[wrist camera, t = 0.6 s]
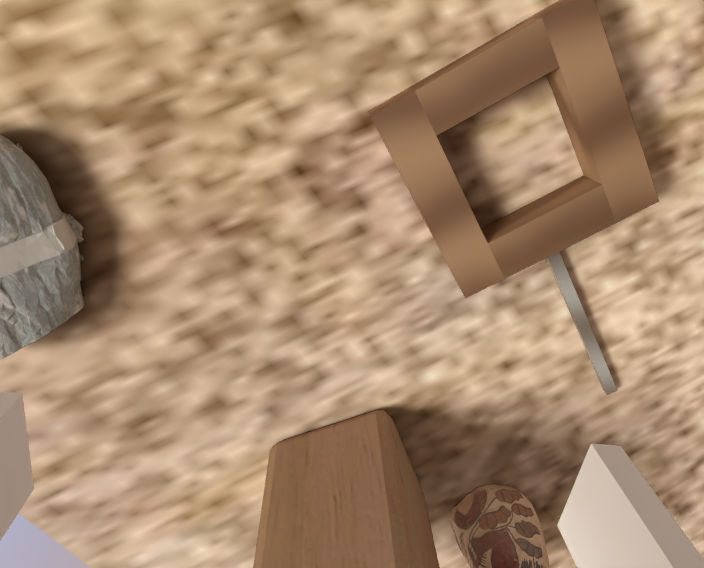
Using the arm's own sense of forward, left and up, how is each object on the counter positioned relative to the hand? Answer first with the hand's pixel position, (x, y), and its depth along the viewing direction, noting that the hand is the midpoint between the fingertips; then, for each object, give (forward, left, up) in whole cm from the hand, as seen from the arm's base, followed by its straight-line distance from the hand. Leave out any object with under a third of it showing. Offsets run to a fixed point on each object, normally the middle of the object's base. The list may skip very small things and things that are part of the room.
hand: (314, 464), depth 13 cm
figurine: (+31, -1, -24) cm, 39 cm away
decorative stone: (-8, -19, -24) cm, 32 cm away
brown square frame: (+10, +12, -24) cm, 28 cm away
